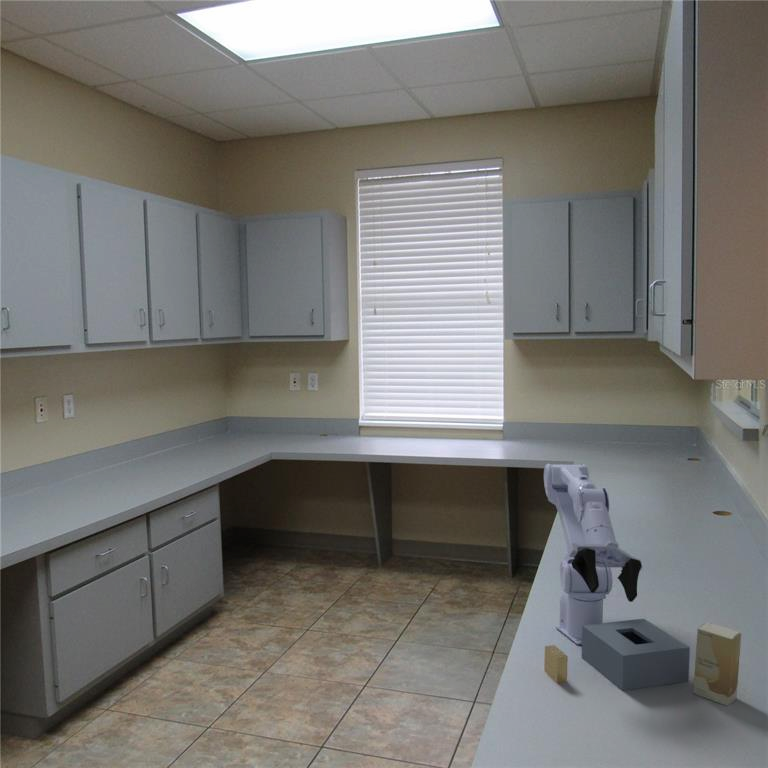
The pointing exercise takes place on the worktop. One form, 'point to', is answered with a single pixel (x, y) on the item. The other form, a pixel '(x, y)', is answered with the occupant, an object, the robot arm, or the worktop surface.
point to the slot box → (635, 654)
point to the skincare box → (717, 663)
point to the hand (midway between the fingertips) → (613, 593)
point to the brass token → (556, 664)
